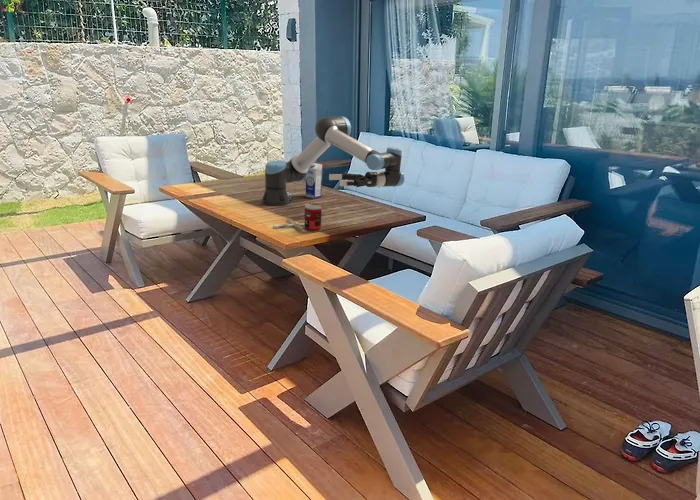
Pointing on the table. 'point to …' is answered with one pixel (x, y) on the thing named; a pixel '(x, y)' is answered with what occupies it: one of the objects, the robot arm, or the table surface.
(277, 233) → the table surface
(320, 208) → the canned food
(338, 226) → the table surface
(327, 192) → the table surface
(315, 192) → the milk carton
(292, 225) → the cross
